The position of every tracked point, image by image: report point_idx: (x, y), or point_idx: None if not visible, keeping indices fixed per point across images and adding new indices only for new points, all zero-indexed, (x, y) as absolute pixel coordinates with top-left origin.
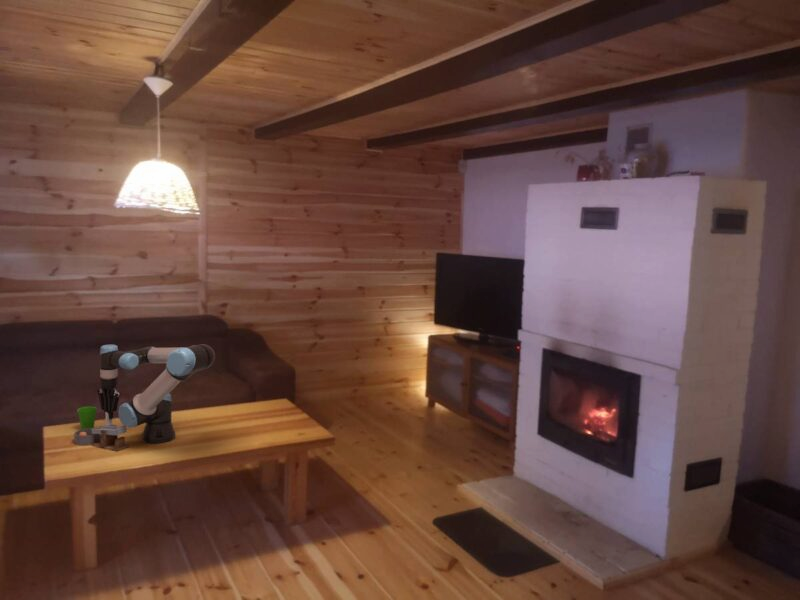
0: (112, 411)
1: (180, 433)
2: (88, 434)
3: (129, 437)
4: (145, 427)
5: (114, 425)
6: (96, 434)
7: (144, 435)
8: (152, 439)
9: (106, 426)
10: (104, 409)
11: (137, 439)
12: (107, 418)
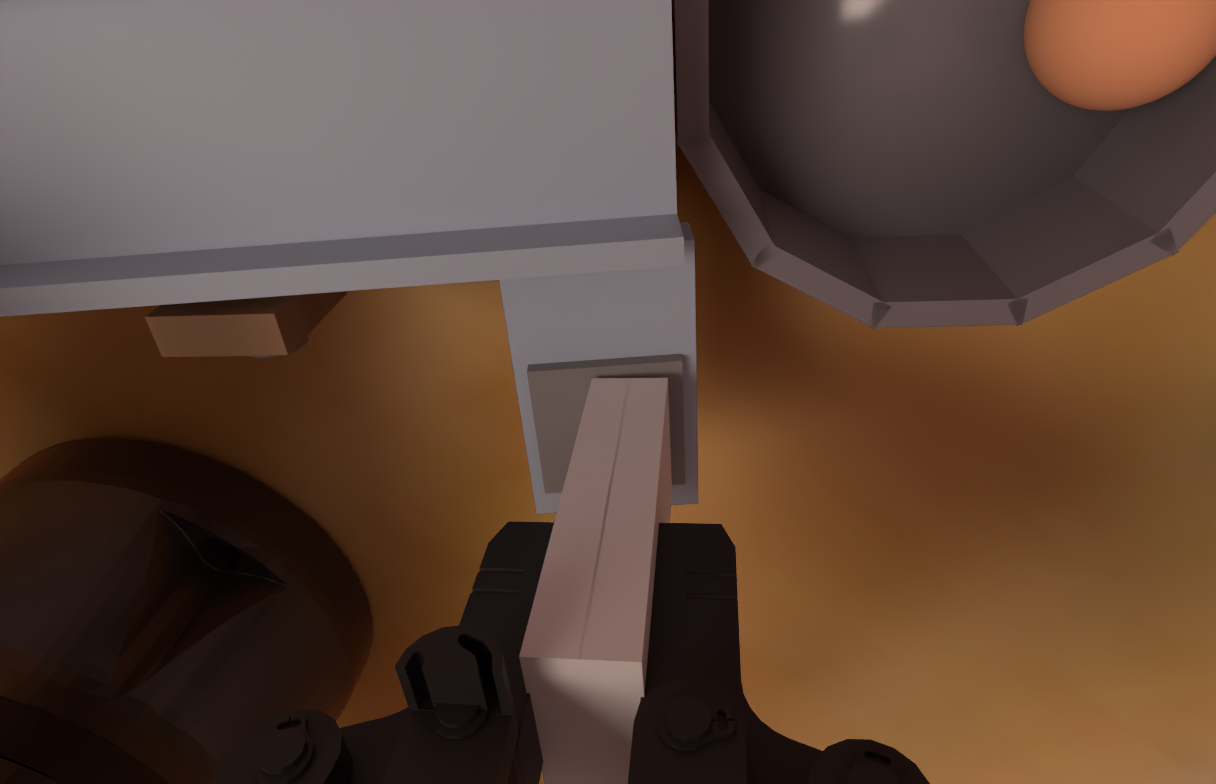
0: (259, 735)
1: None
2: (1089, 191)
3: (479, 476)
4: (105, 632)
5: (533, 476)
6: (676, 61)
7: (125, 510)
8: (3, 484)
9: (426, 254)
10: (710, 775)
11: (328, 469)
12: (570, 501)
